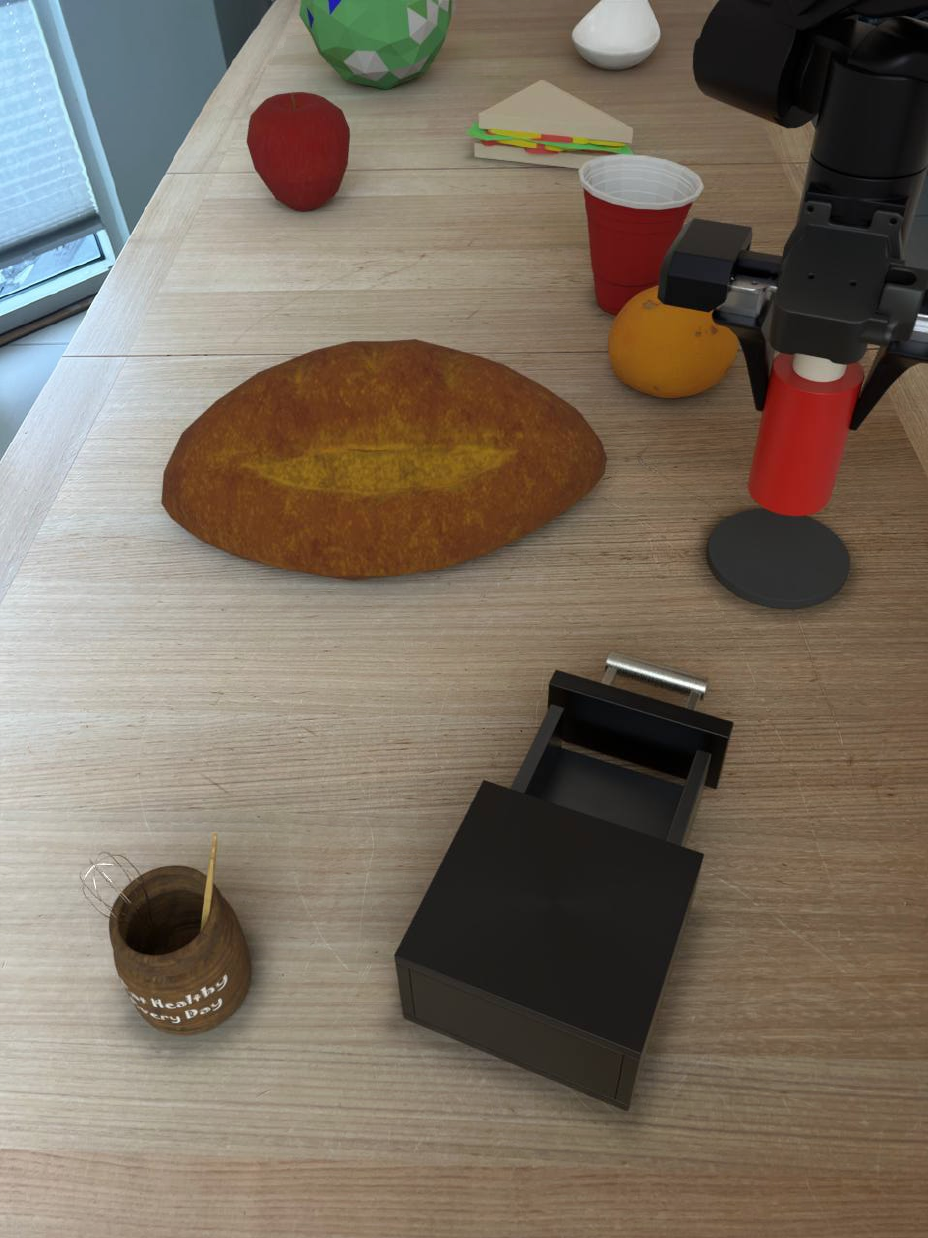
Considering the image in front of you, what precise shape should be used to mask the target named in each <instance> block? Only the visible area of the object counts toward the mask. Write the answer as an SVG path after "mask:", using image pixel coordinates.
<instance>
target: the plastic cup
mask: <svg viewBox="0 0 928 1238" xmlns="http://www.w3.org/2000/svg"><path fill="white" fill-rule="evenodd" d="M577 171H578V177H579V182H580V186H581V187H582V189H583V197H584V208H585V211H586V219H587V231H588V233H587V234H588V241H589V242H588V244H589V256H590V267H591V270H592V275H593V287H594V294H595V295H594V296H595V299H596V302H597V306H598V307H600V308H601V310H603V311H604V312H607V313H609V314H611V315H614V316H617V315H618V313H619V312H620V311H621V310H622V308H623V307H624V306H625V304H626V303H627V302H628V301H629V300H631V299H632V298H633V297H634V296H635V295H637V294H639V293H640V292H643V291H645V290H647V289H649V288H652V287H655V286H657V285H659V278H660V271H661V267H662V263H663V260H664V257H665V255H666V253H667V252H668V250H669V249H670V247H671V245H672V244H673V242H674V240H675V239H676V237H677V236H678V234H679V232H680V231H681V229H682V228H683V227H684V223H685V221H686V219H687V217H688V215H689V212H690V210H691V208H692V206H693V204H694V202H696V201H697V200H698V198H699V196H700V195H701V193H702V191H703V190H704V188H705V186H704V184H703V181H702V179H701V177H700V176H699V175H698V174H697V173H696V172H694V171H693V170H691V169H690V168H688V167H687V166H684V165H682V164H681V163H678V162H674V161H671V160H669V159H665V158H660V157H655V156H651V155H647V154H634V155H631V154H617V155H608V156H600V157H598V158H595V159H593V160H590V161H587V162H585V163H584V165H583V166H582V167H581V168H580V169H578V170H577Z"/></svg>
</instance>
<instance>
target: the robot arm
mask: <svg viewBox="0 0 928 1238" xmlns="http://www.w3.org/2000/svg"><path fill="white" fill-rule="evenodd" d="M924 11H928V0H718V1H717V2H716V4H714V6H713V7H712V9H711V10H710V12H709V14H708V16H707V18H706V20H705V22H704V23H703V26H702V29H701V32H700V35H699V37H698V38H696V40H695V42H694V46H693V53H692V72H693V77H694V81H695V84H696V85H697V88H698V89H699V91H700V92H701V93H702V94H703V95H704V96H706V97H708V98H710V99H713V100H716V101H718V102H720V103H723V104H725V105H728V106H729V107H733V108H735V109H738V110H740V111H742V112H745V113H747V114H750V115H752V116H755V117H758V118H760V119H762V120H765V121H767V122H771V123H773V124H775V125H778V126H780V127H783V128H785V129H798V128H801V127H803V126H805V125H806V124H809V122H811V121H813V120H814V119H815V118H816V117H817V119H816V124H815V128H814V134H813V139H812V144H811V149H810V153H809V157H808V163H807V167H806V173H805V177H804V183H803V188H802V192H801V198H800V202H799V207H798V212H797V215H796V222H795V225H794V227H793V229H792V230H791V232H790V234H789V235H788V237H787V239H786V242H785V243H784V246H783V251H782V255H778V254H773V253H767V252H761V251H760V252H759V251H754V250H751V247H752V241H753V236H754V235H753V234H754V233H753V226H748V225H742V224H741V225H740V224H736V223H735V224H734V223H728V222H722V221H716V220H707V219H702V218H697V217H696V218H695V217H693V218H692V219H691V220H690V221H688V222H687V223H686V224H685V225H683V227H682V229H681V231H680V232H679V234H678V236H677V237H676V239H675V240H674V242H673V244H672V245H671V247H670V249H669V250H668V252H667V253H666V255H665V257H664V260H663V263H662V267H661V271H660V278H659V286H658V295H657V298H658V299H659V300H660V301H661V302H662V303H663V304H664V305H669V306H675V307H681V308H686V309H692V310H697V311H703V312H708V313H709V312H711V311H712V310H713V312H712V320H713V322H714V323H715V324H717V325H720V326H725V327H727V328H729V329H730V330H731V331H732V332H733V333H734V334H735V335H736V336H737V338H738V344H740V348H741V350H742V353H743V356H744V360H745V364H746V365H745V366H746V370H747V374H748V379H749V384H750V388H751V389H750V390H751V394H752V399H753V402H754V408H755V411H757V412H760V413H761V412H763V408H764V403H765V398H766V393H767V388H768V383H769V378H770V373H771V369H772V364H773V361H774V359H775V354H776V353H775V352H777V353H784V354H788V355H793V354H803V355H808V356H813V357H819V358H824V359H828V360H830V361H831V362H832V363H836V364H843V365H848V364H853V363H856V362H859V361H861V360H862V359H863V358H864V356H865V355H866V352H867V348H868V345H873V346H879V347H878V350H877V352H876V354H875V356H874V358H873V362H872V364H871V365H870V368H869V371H868V373H867V375H866V378H865V379H864V381H863V384H862V387H861V391H860V394H859V398H858V402H857V404H856V407H855V410H854V413H853V417H852V421H851V424H850V428H849V429H850V430H849V431H855V432H856V431H857V430H858V429H859V427H860V426H861V425H862V424H863V422H864V421H865V420H866V418H867V417H868V416H869V414H871V412H872V411H873V409H874V408H875V407H876V405H877V404H878V403H879V402H880V401H881V399H882V398H883V397H884V395H885V394H886V393H887V391H888V390H889V389H890V388H891V386H892V385H893V384H894V383H896V381H897V380H898V379H899V378H901V376H902V375H904V374H905V372H907V371H908V370H909V369H910V368H913V367H915V366H917V365H919V364H928V269H927V268H920V267H912V266H907V265H906V262H907V260H906V259H904V254H905V250H906V246H907V244H908V240H909V236H910V232H911V229H912V224H913V222H914V219H915V215H916V211H917V207H918V204H919V200H920V197H921V193H922V189H923V186H924V182H925V179H926V177H927V173H928V22H927V21H923V20H920V19H917V18H913V17H910V16H907V15H908V14H912V13H918V12H924ZM859 16H860V17H864V18H868V19H872V20H878V19H879V20H880V19H885V18H886V19H885V20H883V21H882V22H881V23H879V24H877V25H874V24H870V23H867V22H863V21H860V20H859ZM887 18H888V19H887Z"/></svg>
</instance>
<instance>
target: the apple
mask: <svg viewBox="0 0 928 1238" xmlns="http://www.w3.org/2000/svg"><path fill="white" fill-rule="evenodd" d="M247 127H248V128H247V136H246V145H247V147H248V152H249V154H250V158H251V161H252V164H253V167H254V170H255V172H256V173H257V174H258V176H259V178H260V179H261V180H262V181H263V184H264V185H265V186H266V187H267V189H268V190H269V192H270V193H271V194H272V196H273V197H274V198H275V200H276V201H277V202H279V203H282V204H283V205H285V206H287V207H289V208H290V209H292V210H294V211H295V212H303V213H304V212H311V211H313V210H316V209H318V208H320V207H322V206H323V205H325V204H326V203H327V202H329V201H330V200H331V199H333V198H334V197H335V196H336V195H337V193H339V190H340V188H341V186H342V183H343V180H344V176H345V173H346V171H347V168H348V165H349V155H350V154H349V153H350V143H351V129H350V126H349V124H348V121H347V119H346V116H345V114H344V111H343V110H342V109H341V108H340V107H338V106H337V105H336V104H335V103H333V102H331V101H330V100H328V99H327V98H326V97H325V96H321V95H319V94H316V93H312V92H305V91H292V92H284V93H278V94H275V95H272V96H270V97H267V98H265V99H264V100H263V101H262V102H261V104H259V105H258V107H256V109H255V110H254V111H253V112H252V114H250V117H249V121H248V126H247Z"/></svg>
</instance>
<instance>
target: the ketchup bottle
mask: <svg viewBox="0 0 928 1238" xmlns="http://www.w3.org/2000/svg"><path fill="white" fill-rule="evenodd" d="M864 381H865V370H864V367H863V366H862V364H861V363H860V362H859V361H858V362H856V363H853V364H848V365H843V364H836V363H832V362H831V361H830V360H828V359H824V358H819V357H813V356H808V355H803V354H793V355H788V354H784V353H780V352H778V354H777V355H775V356H774V361H773V364H772V369H771V373H770V378H769V383H768V388H767V393H766V398H765V403H764V408H763V411H762V413H761V417H760V422H759V427H758V431H757V437H756V441H755V446H754V451H753V455H752V461H751V466H750V471H749V475H748V479H747V492H748V494H749V495H750V497H751V499H752V500H753V501H754V502H755V503H756V504H757V505H759V506H760V507H762V509H767V510H769V511H772V512H774V513H778V514H782V515H787V516H810V515H813V514H817V513H819V512H821V511H822V510H824V509H825V508H826V506H828V504H829V503H830V501H831V498H832V494H833V490H834V488H835V483H836V480H837V475H838V472H839V469H840V465H841V462H842V459H843V455H844V451H845V448H846V445H847V440H848V436H849V433H850V431H851V430H850V429H849V428H850V424H851V421H852V417H853V413H854V410H855V407H856V404H857V402H858V398H859V394H860V392H861V389H862V387H863V385H864Z"/></svg>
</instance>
